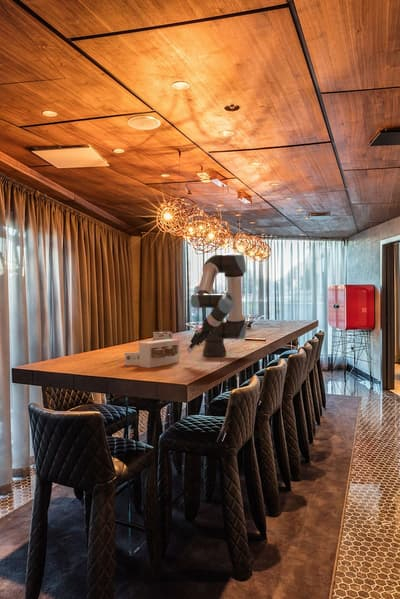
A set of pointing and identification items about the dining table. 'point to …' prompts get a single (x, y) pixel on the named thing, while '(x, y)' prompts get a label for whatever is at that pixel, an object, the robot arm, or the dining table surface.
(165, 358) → the console
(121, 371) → the dining table surface
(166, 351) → the plunger middle
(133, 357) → the card
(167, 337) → the candy bar box
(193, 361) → the dining table surface
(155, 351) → the plunger
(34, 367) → the dining table surface
